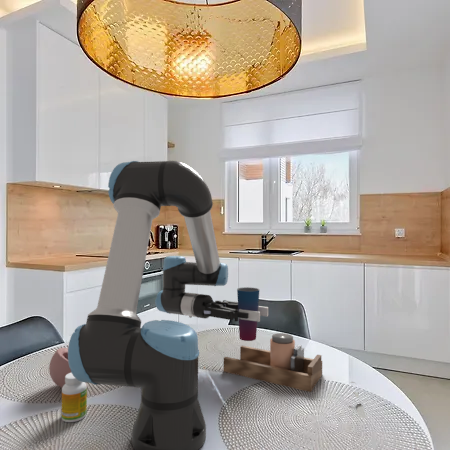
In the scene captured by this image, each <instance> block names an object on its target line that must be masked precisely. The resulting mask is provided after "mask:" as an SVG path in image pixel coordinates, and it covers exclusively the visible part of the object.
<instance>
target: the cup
mask: <svg viewBox="0 0 450 450" xmlns="http://www.w3.org/2000/svg"><path fill="white" fill-rule="evenodd" d="M236 291H237V302H238V312H239V309H242V310H250V311H258V306H259V300H260V289H259V288H257V287H251V286H250V287H249V286H248V287H247V286H246V287H239V288H237V289H236ZM257 330H258V321H251V320H244V319H239V318H238V331H239V332H238V333H239V340H241V341H244V342H253V341H256V340H257Z"/></svg>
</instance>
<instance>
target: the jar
mask: <svg viewBox="0 0 450 450" xmlns="http://www.w3.org/2000/svg"><path fill="white" fill-rule="evenodd" d="M269 342H270V345H269V347H270V348H269V351H270V366H272V367H277V368H282V369H287V370H291V357H292V356H293V355H294V348H295V347H296V341H295V339H294V336H293V335H292V334H289V333H283V332H282V333H281V332H280V333H279V332H278V333H274V334H272V336H271V338H270V341H269Z"/></svg>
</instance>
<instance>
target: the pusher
mask: <svg viewBox="0 0 450 450" xmlns="http://www.w3.org/2000/svg"><path fill="white" fill-rule="evenodd" d="M304 357H305V348H304V347H302V345H301V344H297V345H295V348H294V355H293V356H292V357H291V371H296V372H301V373H303V372H304Z"/></svg>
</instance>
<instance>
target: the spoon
mask: <svg viewBox="0 0 450 450" xmlns="http://www.w3.org/2000/svg"><path fill="white" fill-rule="evenodd" d="M349 383H351V384H356V382H355V381H350V382H349ZM352 393H353V394H354V395H355V397H356V398H359V396H360V395H359V392H355V391H353V392H352ZM356 411H357V416H358V415H359V417H360V418H361V417H362V418H365V417H367V414H366V411H365V409H364V407H363V405H362V403H357V404H356ZM365 415H366V416H365ZM359 417H358V418H359Z"/></svg>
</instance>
